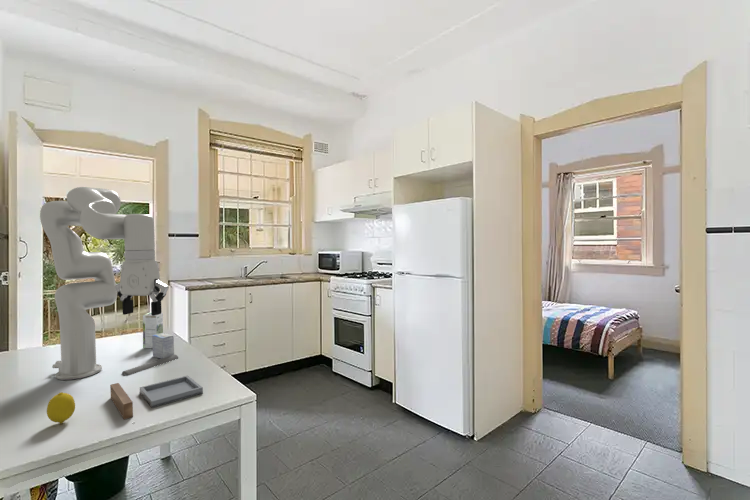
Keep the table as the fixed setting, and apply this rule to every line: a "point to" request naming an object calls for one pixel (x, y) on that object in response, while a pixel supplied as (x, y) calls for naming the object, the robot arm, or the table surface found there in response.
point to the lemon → (60, 407)
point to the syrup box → (151, 328)
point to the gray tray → (170, 391)
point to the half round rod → (149, 365)
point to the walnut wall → (121, 401)
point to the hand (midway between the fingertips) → (142, 314)
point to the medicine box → (163, 345)
